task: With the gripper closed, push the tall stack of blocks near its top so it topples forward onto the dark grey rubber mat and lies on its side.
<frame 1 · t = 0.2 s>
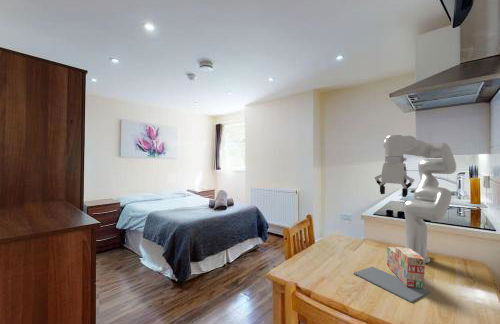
hand: (393, 195, 111), 36 cm above the table, tool pointing down, fingers open, 9 cm apart
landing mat: (389, 282, 98), on the table
stack of blocks: (403, 276, 103), on the table, touching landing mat
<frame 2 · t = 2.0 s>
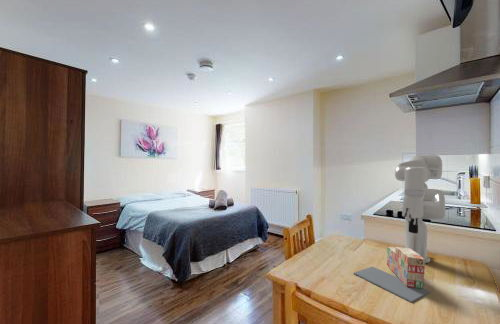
hand: (413, 232, 106), 19 cm above the table, tool pointing down, fingers closed
nothing on the table moved.
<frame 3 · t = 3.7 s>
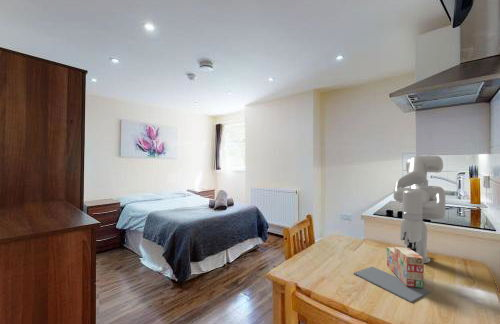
hand: (411, 256, 106), 8 cm above the table, tool pointing down, fingers closed
stack of blocks: (403, 276, 103), on the table, touching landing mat
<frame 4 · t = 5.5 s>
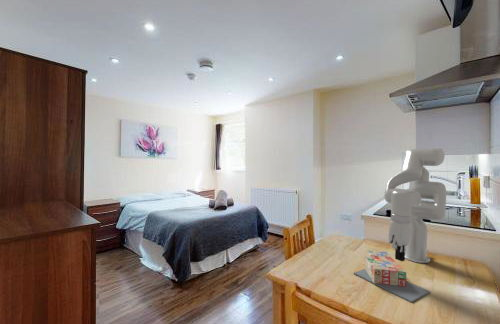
hand: (399, 259, 101), 8 cm above the table, tool pointing down, fingers closed
stack of blocks: (395, 267, 104), point 4 cm above the table, touching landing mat
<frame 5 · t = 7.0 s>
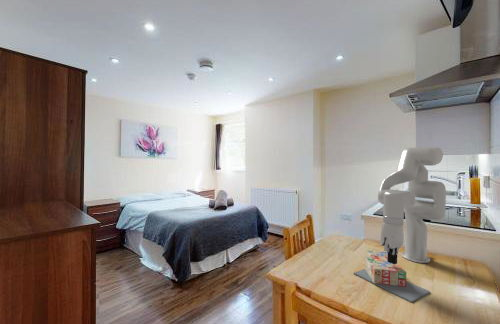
hand: (392, 262, 99), 8 cm above the table, tool pointing down, fingers closed
nothing on the table moved.
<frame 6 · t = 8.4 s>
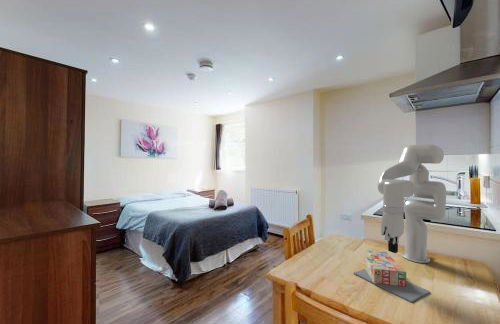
hand: (392, 251, 99), 13 cm above the table, tool pointing down, fingers closed
nothing on the table moved.
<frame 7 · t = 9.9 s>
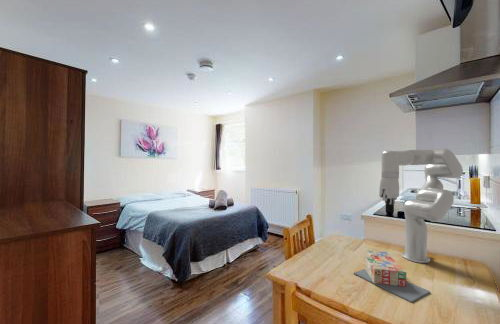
hand: (389, 211, 114), 27 cm above the table, tool pointing down, fingers closed
nothing on the table moved.
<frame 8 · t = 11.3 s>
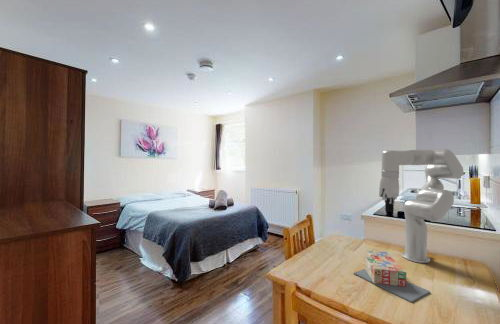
hand: (389, 211, 115), 27 cm above the table, tool pointing down, fingers closed
nothing on the table moved.
at the end: stack of blocks tilted 90°; stack of blocks touching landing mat; the gripper is holding nothing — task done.
